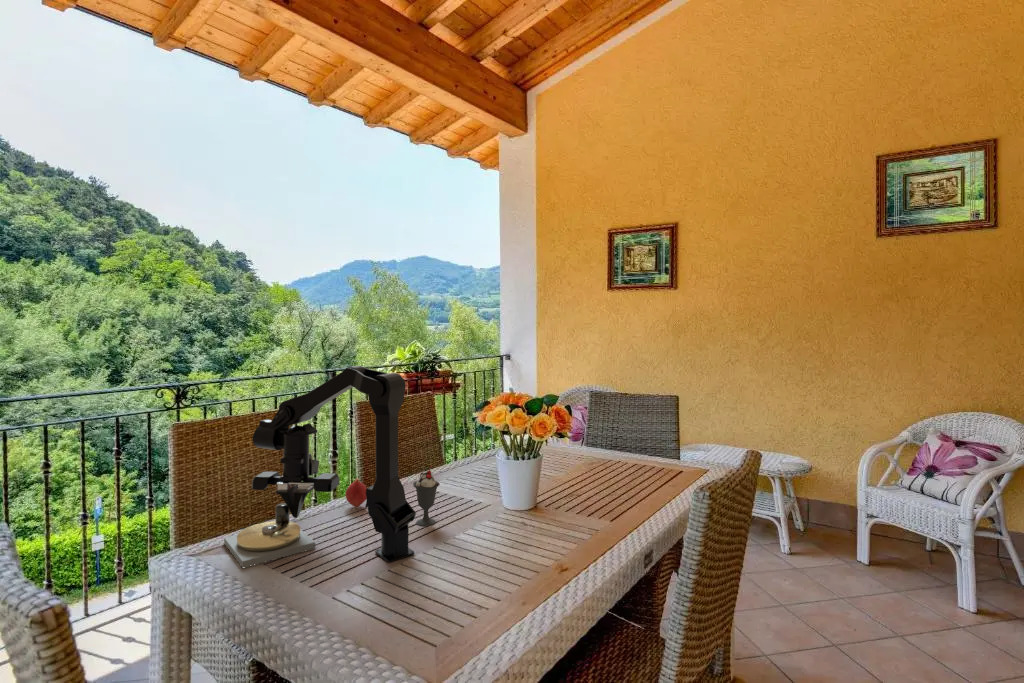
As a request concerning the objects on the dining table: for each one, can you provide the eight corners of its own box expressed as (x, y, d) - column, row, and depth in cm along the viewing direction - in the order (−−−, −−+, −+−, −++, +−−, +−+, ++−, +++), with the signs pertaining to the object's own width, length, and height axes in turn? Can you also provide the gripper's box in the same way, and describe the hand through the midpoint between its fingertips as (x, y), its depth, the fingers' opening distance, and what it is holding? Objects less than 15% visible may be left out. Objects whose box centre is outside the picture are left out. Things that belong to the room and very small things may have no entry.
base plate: (315, 548, 119) (315, 542, 119) (242, 568, 110) (242, 561, 109) (291, 527, 131) (291, 521, 131) (224, 544, 121) (224, 537, 121)
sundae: (434, 528, 132) (434, 469, 131) (408, 526, 133) (409, 467, 132) (442, 519, 138) (443, 462, 138) (418, 516, 140) (419, 460, 139)
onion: (340, 508, 144) (341, 479, 144) (356, 502, 149) (356, 474, 149) (356, 512, 142) (357, 483, 141) (372, 506, 147) (372, 477, 146)
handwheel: (309, 540, 119) (309, 516, 119) (246, 556, 111) (246, 530, 111) (289, 522, 129) (289, 500, 129) (230, 536, 121) (230, 512, 120)
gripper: (347, 444, 133) (346, 506, 133) (273, 442, 133) (273, 504, 134) (330, 456, 122) (330, 523, 122) (250, 454, 122) (250, 520, 123)
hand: (296, 517), depth 126 cm, fingers closed
